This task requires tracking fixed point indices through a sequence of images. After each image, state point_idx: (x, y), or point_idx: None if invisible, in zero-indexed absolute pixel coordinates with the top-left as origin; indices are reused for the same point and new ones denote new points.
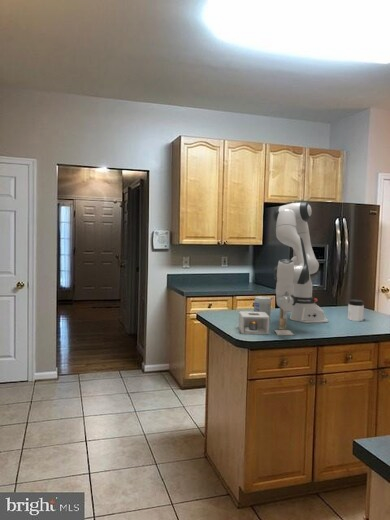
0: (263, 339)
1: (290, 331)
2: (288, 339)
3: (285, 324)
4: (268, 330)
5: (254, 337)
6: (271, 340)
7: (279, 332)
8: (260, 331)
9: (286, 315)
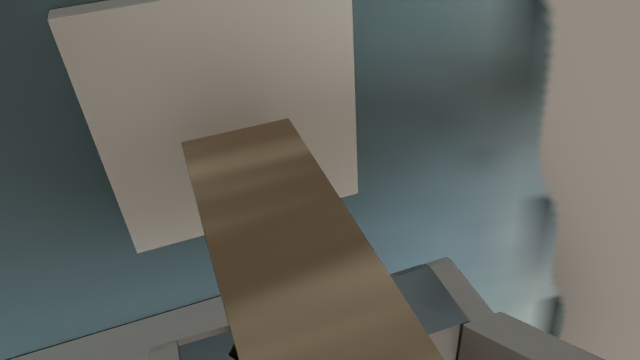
0: (512, 272)
1: (154, 6)
2: (537, 48)
3: (319, 176)
4: None
5: None
6: (551, 212)
7: None
8: None
9: (487, 309)
